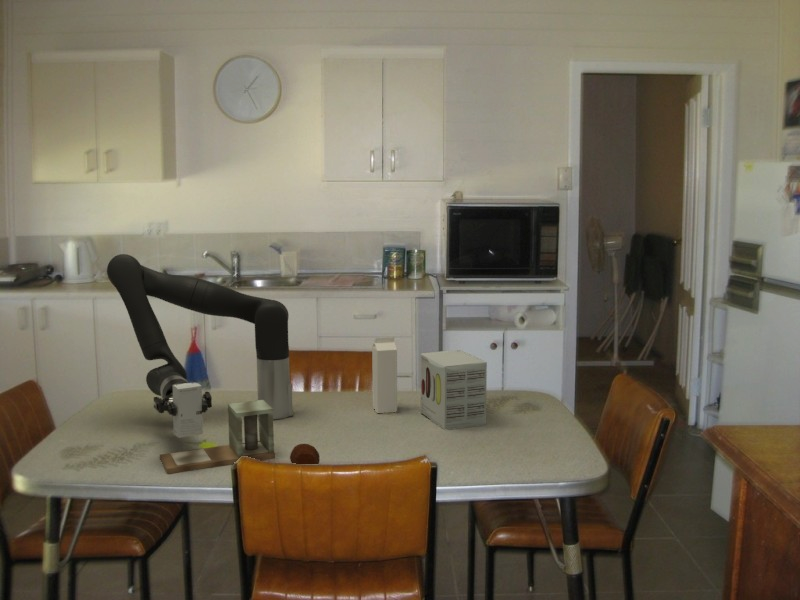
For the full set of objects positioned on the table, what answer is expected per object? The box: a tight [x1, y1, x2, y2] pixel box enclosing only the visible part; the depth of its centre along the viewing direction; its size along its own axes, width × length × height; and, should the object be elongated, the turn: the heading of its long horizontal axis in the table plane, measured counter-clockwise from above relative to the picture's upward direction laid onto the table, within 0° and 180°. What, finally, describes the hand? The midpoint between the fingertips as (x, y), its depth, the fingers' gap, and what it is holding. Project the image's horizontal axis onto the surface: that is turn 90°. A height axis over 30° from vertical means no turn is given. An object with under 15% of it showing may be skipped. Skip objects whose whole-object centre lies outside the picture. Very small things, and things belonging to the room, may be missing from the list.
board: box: [159, 399, 276, 475], centre depth 202 cm, size 26×11×12 cm, turn 115°
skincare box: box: [172, 382, 203, 439], centre depth 198 cm, size 6×4×12 cm
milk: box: [371, 336, 398, 414], centre depth 242 cm, size 6×6×22 cm
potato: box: [289, 443, 320, 464], centre depth 195 cm, size 7×9×6 cm
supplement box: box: [420, 349, 488, 430], centre depth 234 cm, size 17×13×18 cm
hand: (189, 410), depth 196 cm, fingers closed on skincare box, 6 cm apart
